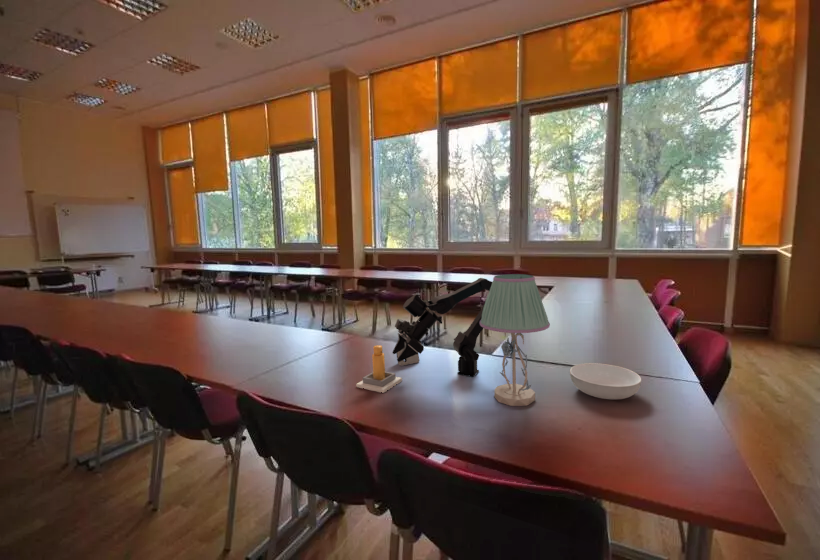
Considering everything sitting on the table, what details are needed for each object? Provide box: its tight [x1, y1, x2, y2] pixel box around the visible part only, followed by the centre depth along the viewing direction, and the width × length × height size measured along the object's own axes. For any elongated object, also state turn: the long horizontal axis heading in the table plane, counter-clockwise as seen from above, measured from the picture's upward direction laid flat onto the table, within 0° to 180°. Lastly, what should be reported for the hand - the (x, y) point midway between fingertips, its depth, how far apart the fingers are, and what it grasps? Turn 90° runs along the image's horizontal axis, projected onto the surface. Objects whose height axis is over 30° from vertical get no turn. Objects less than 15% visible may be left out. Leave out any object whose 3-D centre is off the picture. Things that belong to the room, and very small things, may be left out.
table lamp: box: [480, 273, 551, 407], centre depth 125 cm, size 22×22×40 cm
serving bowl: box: [569, 362, 643, 400], centre depth 128 cm, size 21×21×7 cm
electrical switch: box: [394, 344, 420, 367], centre depth 165 cm, size 9×5×9 cm, turn 116°
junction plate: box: [356, 371, 403, 394], centre depth 143 cm, size 12×12×3 cm
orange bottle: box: [371, 344, 386, 381], centre depth 142 cm, size 4×4×13 cm
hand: (395, 357), depth 143 cm, fingers open, 9 cm apart
